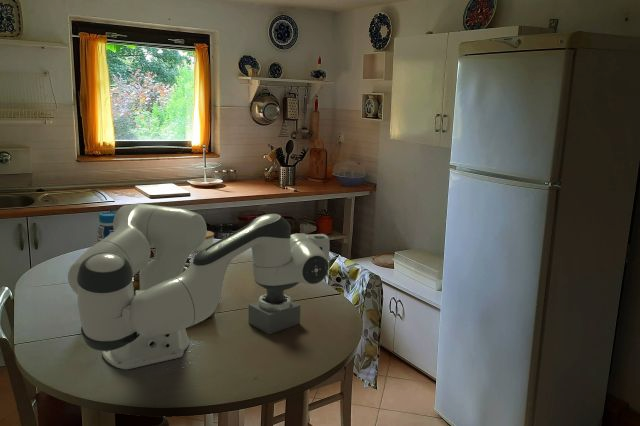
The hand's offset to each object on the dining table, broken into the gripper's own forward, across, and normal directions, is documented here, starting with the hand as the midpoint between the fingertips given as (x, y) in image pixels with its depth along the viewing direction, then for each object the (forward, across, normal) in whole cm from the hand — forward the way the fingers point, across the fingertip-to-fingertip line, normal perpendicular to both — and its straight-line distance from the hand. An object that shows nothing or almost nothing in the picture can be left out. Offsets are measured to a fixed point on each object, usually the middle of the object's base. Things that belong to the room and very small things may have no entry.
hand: (285, 236), depth 160 cm
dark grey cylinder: (+4, -2, -22) cm, 23 cm away
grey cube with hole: (+4, -2, -28) cm, 29 cm away
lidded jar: (+82, -16, -29) cm, 89 cm away
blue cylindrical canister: (+71, -52, -28) cm, 92 cm away
